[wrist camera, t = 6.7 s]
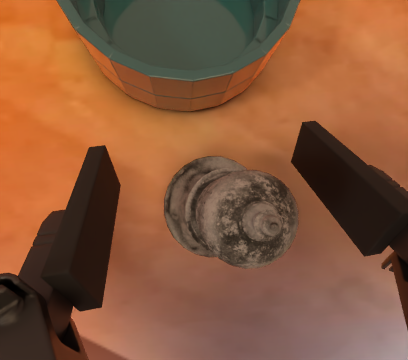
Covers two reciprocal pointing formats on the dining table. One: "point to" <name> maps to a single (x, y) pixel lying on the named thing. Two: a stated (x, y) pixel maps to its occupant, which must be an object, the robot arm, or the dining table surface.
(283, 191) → the salt shaker
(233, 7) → the bowl
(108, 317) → the dining table surface
